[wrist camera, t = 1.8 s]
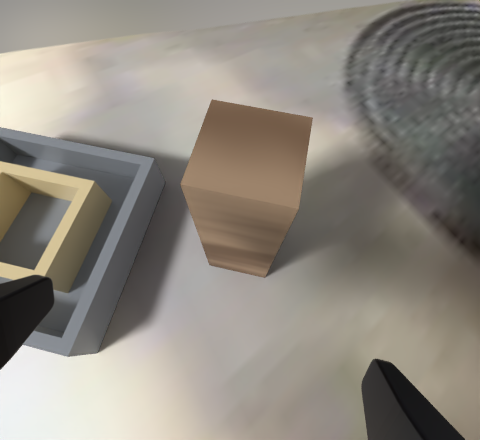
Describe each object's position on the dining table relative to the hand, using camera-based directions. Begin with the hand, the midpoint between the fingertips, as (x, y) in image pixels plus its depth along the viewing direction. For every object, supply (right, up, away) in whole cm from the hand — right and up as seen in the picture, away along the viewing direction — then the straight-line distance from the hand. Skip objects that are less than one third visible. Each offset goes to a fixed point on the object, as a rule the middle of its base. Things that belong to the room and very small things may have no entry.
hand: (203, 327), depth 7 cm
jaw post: (+1, +1, +14) cm, 14 cm away
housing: (-14, +2, +14) cm, 20 cm away
